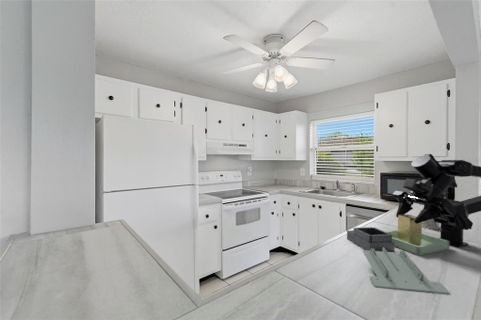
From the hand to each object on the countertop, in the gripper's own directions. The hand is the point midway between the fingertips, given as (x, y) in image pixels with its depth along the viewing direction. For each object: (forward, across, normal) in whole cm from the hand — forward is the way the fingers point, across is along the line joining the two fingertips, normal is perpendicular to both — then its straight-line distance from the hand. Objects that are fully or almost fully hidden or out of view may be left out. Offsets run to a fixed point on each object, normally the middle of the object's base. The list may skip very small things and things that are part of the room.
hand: (405, 219), depth 73 cm
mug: (-14, -18, +27) cm, 35 cm away
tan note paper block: (+5, 0, +6) cm, 8 cm away
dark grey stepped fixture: (+15, -1, -3) cm, 16 cm away
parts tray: (+4, 0, +8) cm, 9 cm away
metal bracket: (+21, +18, -8) cm, 28 cm away
